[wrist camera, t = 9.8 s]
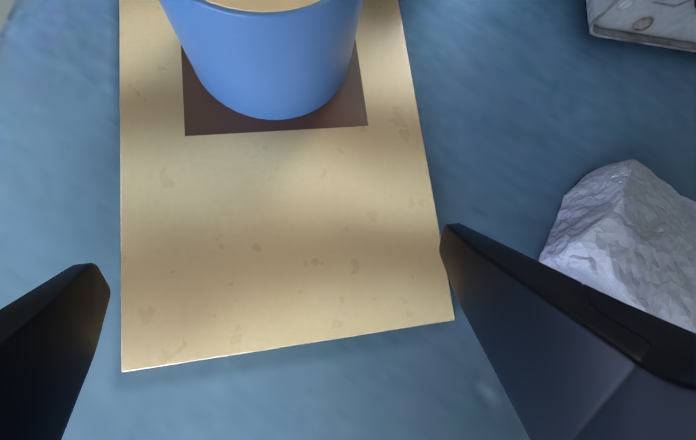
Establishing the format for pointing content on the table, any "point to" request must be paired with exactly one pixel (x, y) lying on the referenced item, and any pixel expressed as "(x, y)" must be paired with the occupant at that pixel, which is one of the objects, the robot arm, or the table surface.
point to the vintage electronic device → (645, 22)
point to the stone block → (629, 241)
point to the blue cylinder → (267, 51)
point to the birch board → (270, 205)
